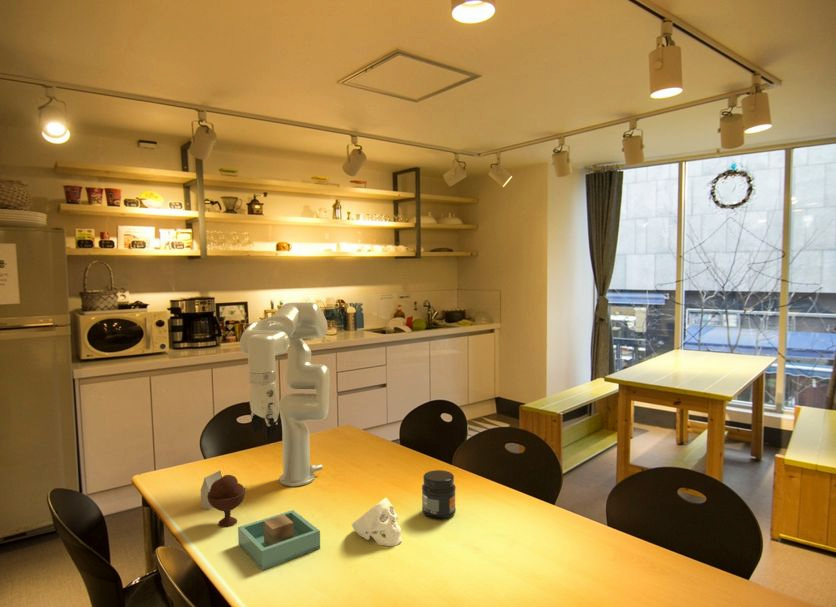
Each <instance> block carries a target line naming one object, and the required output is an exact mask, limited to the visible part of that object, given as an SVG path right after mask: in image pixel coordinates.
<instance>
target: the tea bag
mask: <svg viewBox="0 0 836 607" xmlns="http://www.w3.org/2000/svg"><path fill="white" fill-rule="evenodd" d="M222 477H223V474H222V473H221V470H218V471H215V472H213V473H212V474H210V475H207V476H206V477H204V478H203V482H202V485H201V488H200V505H201V509H207V510H212V509H215V508H214V507H212V506H211V505H210V503H209V502H208V498H207V497H208V492H210V489H211V486H212V484H213V483H214V482H215V481H216V480H218V479H220V478H222Z"/></svg>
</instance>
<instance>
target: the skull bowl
mask: <svg viewBox="0 0 836 607" xmlns="http://www.w3.org/2000/svg"><path fill="white" fill-rule="evenodd" d="M398 520H399V516H398V514H397V513H396V511H395V509H394V506H393V505H392V503H391V502H390V501H389V499H388V498H387V497H385V498H383V499H382V500H381V501H379V502H378V503H377V504H375V505H374V506H372V507H371V508H370V509H369V510H367V511H366V512H365V513H364V514H363V515H361V516H360V517H359V518H358V519H357V520H356V521H355V520H354V522H353V523H352V524H351V527H352V529H353V530H354V531H355V532H356V534H358V535H359V537H362V538H363V539H365V540H367V541H369V540H370V538H371V537H372V538H373V539H374V541H375V542H376V544H377V545H380V546H386V547H395V546H398V545H400V543H401V542H402V541H403V537H402V536H401V532H402V528H401V526H400V525H398ZM382 534H384V536H383V535H382Z"/></svg>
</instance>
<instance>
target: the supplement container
mask: <svg viewBox="0 0 836 607" xmlns="http://www.w3.org/2000/svg"><path fill="white" fill-rule="evenodd" d="M422 477H423V480H422V481H423V483H422V484H421V490H422V492H421V494H422V495H421V501H422V502H421V503H422V504H421V506H422V507H421V511H422V513H423V515H424V516H425V517H427V519H431V520H437V521H440V520H442V521H443V520H448V519H450V518H452V517H453V516H455V514H456V512H457V511H456V509H457V508H456V489H457V488H456V487H457V486H456V484H455V483H454V482H455V476H454V474H453V473H452V472H451V471H447V470H441V469H440V470H439V469H438V470H437V469H436V470H435V469H433V470H430V471H427V472H425V473H424V474H423V475H422Z"/></svg>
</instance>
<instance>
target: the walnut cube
mask: <svg viewBox="0 0 836 607" xmlns="http://www.w3.org/2000/svg"><path fill="white" fill-rule="evenodd" d="M291 538H294V524H293V522H292V521H291V520H290V519H289V518H287V517H286V516H285V515H281V516H278V517H275V518H272V519H269V520H265V521H264V543H265V544H266V545H267V546H271V545H274V544H277V543H279V542H282V541H285V540H288V539H291Z"/></svg>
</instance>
